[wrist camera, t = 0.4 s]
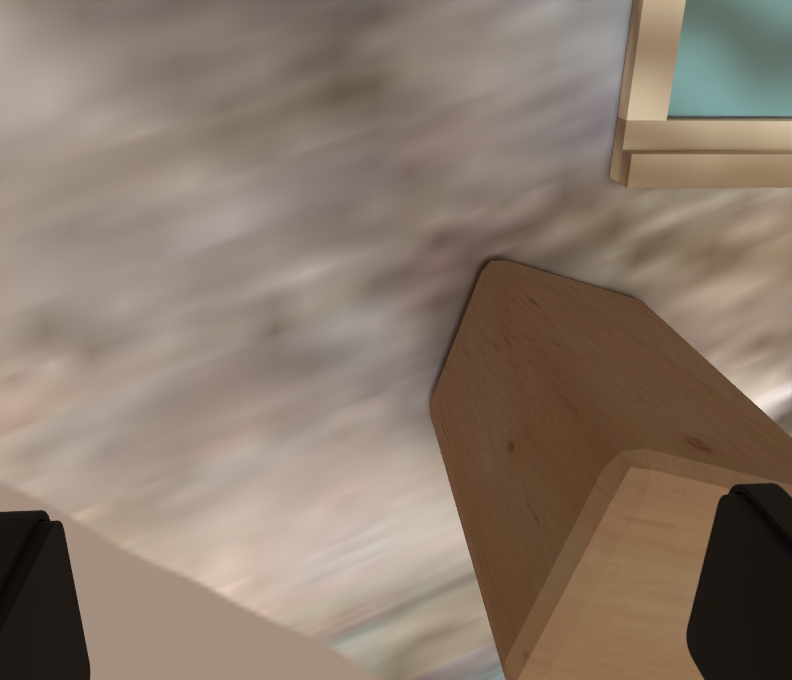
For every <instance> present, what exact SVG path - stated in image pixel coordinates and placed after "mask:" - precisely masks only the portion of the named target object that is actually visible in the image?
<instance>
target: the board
mask: <svg viewBox="0 0 792 680" xmlns="http://www.w3.org/2000/svg"><path fill="white" fill-rule="evenodd" d="M667 116H792V0H633V6H632V13H631V21H630V28H629V36H628V43H627V50H626V58H625V65H624V73H623V80H622V88H621V95H620V102H619V110H618V117H617V125H616V132H615V139H614V147H613V154H612V162H611V169H610V178H611V179H613V180H615V181H616V182H618V183H620V184H621V185H623V186H625V187H626V188H727V187H792V118H743V117H667Z"/></svg>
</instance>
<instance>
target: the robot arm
mask: <svg viewBox="0 0 792 680" xmlns="http://www.w3.org/2000/svg"><path fill="white" fill-rule="evenodd" d="M686 640H687V646H688V650H689V653H690V655H691V657H692V659H693V661H694V663H695V664H696V666H697V668H698V670H699V671H700V673H701V675H702V677H703V678H704V680H792V497H791V496H790V495H789V494H788V493H787V492H786V491H785V490H784V489H783V488H782V487H780V486H779V485H778V484H775V483H755V484H737V485H734V486H733V487H732V488H731V489H730V491H729V493H728V494H727V495H723V496H722V497H721V498H720V499H719V502H718V505H717V509H716V513H715V517H714V521H713V525H712V529H711V533H710V538H709V542H708V546H707V550H706V554H705V558H704V562H703V566H702V570H701V574H700V578H699V582H698V586H697V590H696V594H695V598H694V602H693V606H692V610H691V614H690V618H689V622H688V626H687V632H686ZM0 680H90V663H89V658H88V653H87V647H86V642H85V637H84V632H83V626H82V621H81V616H80V611H79V606H78V600H77V595H76V590H75V584H74V579H73V574H72V569H71V564H70V558H69V553H68V548H67V543H66V538H65V532H64V528H63V525H62V523H61V522H60V521H50V519H49V516H48V514H47V513H46V512H45V511H43V510H40V511H39V510H38V511H11V512H0Z"/></svg>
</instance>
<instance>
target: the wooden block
mask: <svg viewBox="0 0 792 680" xmlns="http://www.w3.org/2000/svg"><path fill="white" fill-rule="evenodd" d="M430 415H431V419H432V422H433V426H434V429H435V433H436V436H437V440H438V443H439V447H440V450H441V454H442V457H443V461H444V464H445V468H446V471H447V475H448V479H449V482H450V486H451V489H452V493H453V496H454V500H455V503H456V507H457V510H458V514H459V517H460V521H461V524H462V528H463V531H464V535H465V538H466V542H467V546H468V549H469V553H470V556H471V560H472V563H473V567H474V570H475V574H476V577H477V581H478V584H479V588H480V591H481V595H482V598H483V602H484V605H485V609H486V612H487V616H488V620H489V623H490V627H491V630H492V634H493V637H494V641H495V644H496V648H497V651H498V655H499V658H500V662H501V665H502V669H503V672H504V676H505V678H506V680H704V678H703V677H702V675H701V673H700V671H699V670H698V668H697V666H696V664H695V663H694V661H693V659H692V657H691V655H690V653H689V650H688V646H687V640H686V632H687V626H688V622H689V618H690V614H691V610H692V606H693V602H694V598H695V594H696V590H697V586H698V582H699V578H700V574H701V570H702V566H703V562H704V558H705V554H706V550H707V546H708V542H709V538H710V533H711V529H712V525H713V521H714V517H715V513H716V509H717V505H718V502H719V499H720V498H721V497H722V496H723V495H727V494H728V493H729V491H730V489H731V488H732V487H733V486H734V485H737V484H755V483H775V484H778V485H779V486H780V487H782V488H783V489H784V490H785V491H786V492H787V493H788V494H789V495H790V496H791V497H792V438H791V437H790V436H789V435H788V434H787V433H786V432H785V431H784V430H783V429H782V428H780V427H779V426H778V425H777V424H776V423H775V422H774V421H773V420H772V419H771V418H770V417H768V416H767V415H766V414H765V413H764V412H763V411H762V410H761V409H760V408H759V407H757V406H756V405H755V404H754V403H753V402H752V401H751V400H750V399H749V398H748V397H747V396H745V395H744V394H743V393H742V392H741V391H740V390H739V389H738V388H737V387H736V386H734V385H733V384H732V383H731V382H730V381H729V380H728V379H727V378H726V377H725V376H723V375H722V374H721V373H720V372H719V371H718V370H717V369H716V368H715V367H714V366H713V365H711V364H710V363H709V362H708V361H707V360H706V359H705V358H704V357H703V356H702V355H700V354H699V353H698V352H697V351H696V350H695V349H694V348H693V347H692V346H691V345H690V344H688V343H687V342H686V341H685V340H684V339H683V338H682V337H681V336H680V335H679V334H677V333H676V332H675V331H674V330H673V329H672V328H671V327H670V326H669V325H668V324H667V323H665V322H664V321H663V320H662V319H661V318H660V317H659V316H658V315H657V314H656V313H654V312H653V311H652V310H651V309H650V308H649V307H648V306H647V305H646V304H645V303H643V302H642V301H641V300H638V299H635V298H631V297H628V296H625V295H621V294H618V293H615V292H611V291H608V290H605V289H601V288H598V287H595V286H591V285H588V284H585V283H581V282H578V281H575V280H571V279H568V278H565V277H561V276H558V275H555V274H551V273H548V272H545V271H541V270H538V269H535V268H531V267H528V266H524V265H521V264H518V263H514V262H511V261H508V260H500V261H490V262H489V263H488V264H487V266H486V267H485V268H484V269H483V271H482V272H481V274H480V276H479V279H478V281H477V284H476V287H475V289H474V292H473V294H472V297H471V299H470V302H469V304H468V307H467V310H466V312H465V315H464V317H463V320H462V322H461V325H460V327H459V330H458V333H457V335H456V338H455V340H454V343H453V345H452V348H451V350H450V353H449V356H448V358H447V361H446V363H445V366H444V368H443V371H442V373H441V376H440V379H439V381H438V384H437V386H436V389H435V391H434V394H433V396H432V399H431V402H430Z"/></svg>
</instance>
